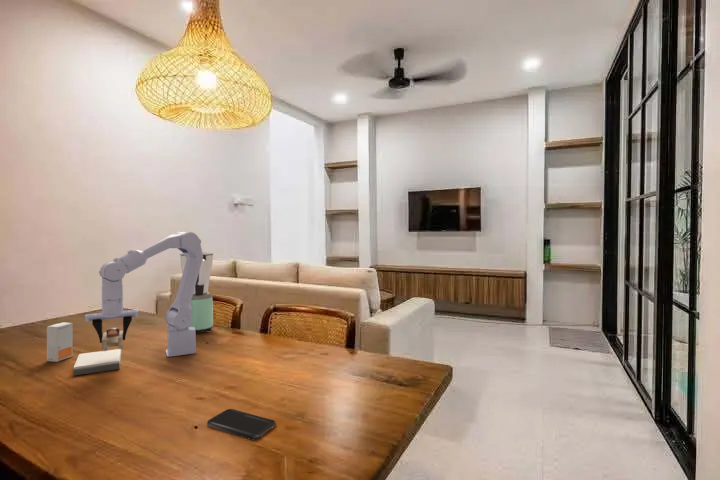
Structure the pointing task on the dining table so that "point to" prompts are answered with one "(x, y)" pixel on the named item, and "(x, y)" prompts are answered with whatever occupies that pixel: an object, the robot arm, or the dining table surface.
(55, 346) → the skincare box
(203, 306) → the juicer
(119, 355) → the dock
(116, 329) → the drum
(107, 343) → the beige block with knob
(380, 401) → the dining table surface
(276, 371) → the dining table surface
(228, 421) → the phone
